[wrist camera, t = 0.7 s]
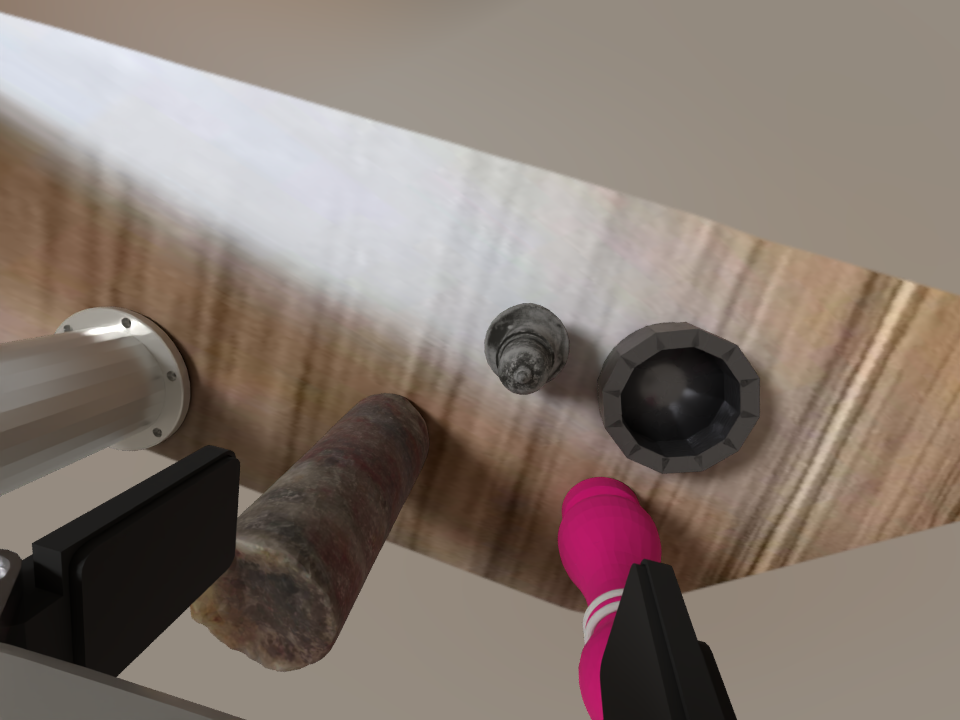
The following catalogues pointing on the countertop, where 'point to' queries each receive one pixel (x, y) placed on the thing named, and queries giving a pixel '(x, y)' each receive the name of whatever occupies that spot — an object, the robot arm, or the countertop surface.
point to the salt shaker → (526, 347)
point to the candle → (316, 537)
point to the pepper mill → (602, 563)
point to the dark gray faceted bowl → (678, 397)
